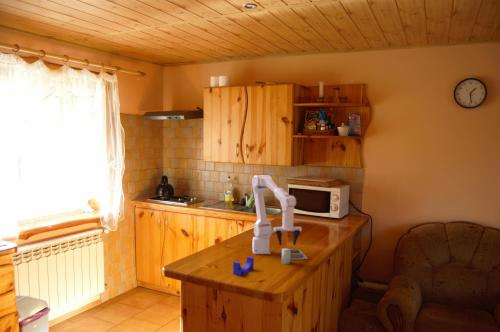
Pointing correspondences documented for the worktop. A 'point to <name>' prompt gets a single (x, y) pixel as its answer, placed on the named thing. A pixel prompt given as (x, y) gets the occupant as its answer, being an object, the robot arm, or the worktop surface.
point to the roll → (285, 256)
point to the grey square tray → (297, 255)
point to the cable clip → (244, 270)
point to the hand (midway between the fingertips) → (287, 244)
